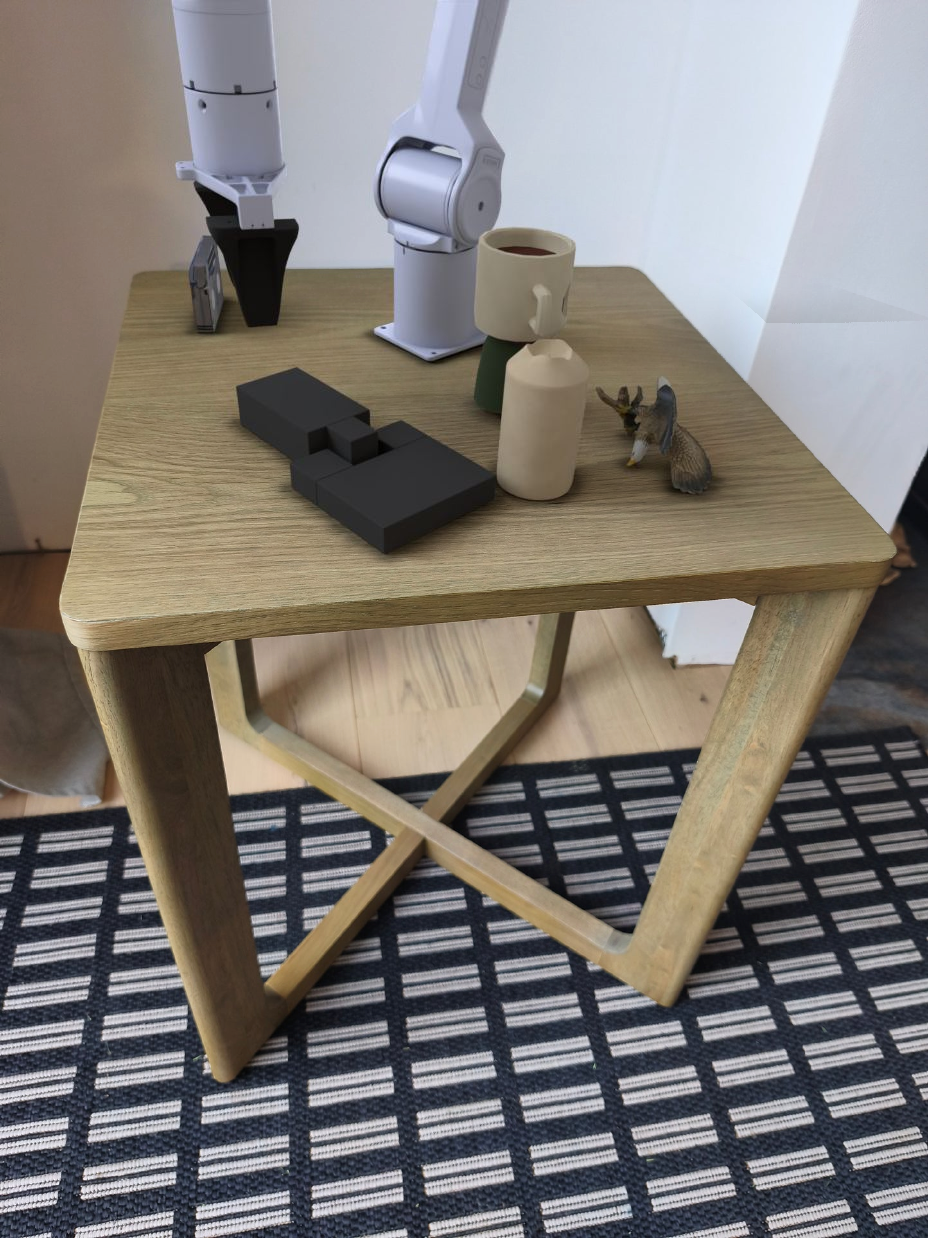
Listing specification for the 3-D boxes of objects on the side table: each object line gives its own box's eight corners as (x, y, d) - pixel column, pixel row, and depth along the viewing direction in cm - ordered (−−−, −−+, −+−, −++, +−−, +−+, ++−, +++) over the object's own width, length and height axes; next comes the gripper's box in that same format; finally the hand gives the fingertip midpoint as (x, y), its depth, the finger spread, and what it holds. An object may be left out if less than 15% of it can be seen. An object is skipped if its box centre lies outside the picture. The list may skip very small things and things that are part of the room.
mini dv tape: (208, 298, 84) (199, 234, 80) (223, 299, 84) (215, 235, 80) (197, 332, 78) (186, 265, 74) (214, 332, 78) (204, 265, 74)
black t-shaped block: (334, 489, 59) (332, 448, 57) (240, 424, 65) (235, 385, 63) (395, 464, 62) (395, 424, 60) (299, 404, 68) (296, 366, 66)
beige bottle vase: (567, 506, 59) (589, 370, 53) (489, 494, 60) (501, 358, 53) (575, 467, 63) (597, 335, 57) (502, 455, 64) (515, 325, 58)
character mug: (574, 435, 67) (600, 265, 59) (486, 442, 65) (501, 268, 57) (532, 374, 75) (550, 217, 66) (453, 379, 73) (461, 218, 65)
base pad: (384, 554, 54) (384, 528, 53) (291, 488, 59) (289, 462, 58) (495, 499, 59) (497, 474, 58) (401, 443, 65) (401, 419, 63)
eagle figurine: (569, 436, 64) (648, 473, 58) (614, 347, 63) (701, 374, 56) (632, 470, 69) (712, 507, 63) (675, 388, 68) (762, 417, 61)
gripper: (156, 64, 57) (188, 272, 66) (172, 110, 47) (207, 349, 56) (263, 65, 59) (280, 267, 68) (301, 110, 49) (315, 340, 58)
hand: (254, 303), depth 62 cm, fingers open, 7 cm apart
